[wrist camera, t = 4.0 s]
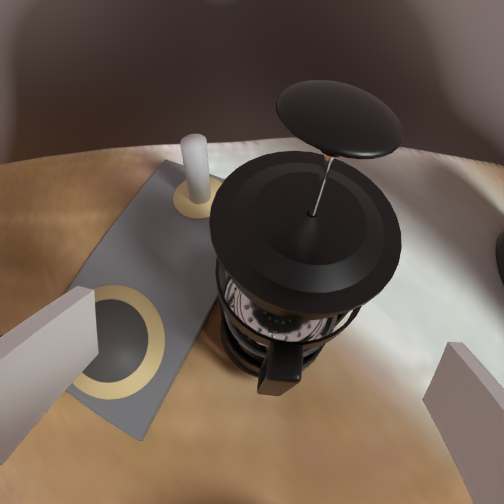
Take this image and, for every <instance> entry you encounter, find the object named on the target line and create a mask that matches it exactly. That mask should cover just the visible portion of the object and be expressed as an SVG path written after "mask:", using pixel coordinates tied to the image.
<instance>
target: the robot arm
mask: <svg viewBox="0 0 504 504" xmlns="http://www.w3.org/2000/svg"><path fill="white" fill-rule="evenodd" d="M496 256H497V263H498V268H499V271H500V275H501V278H502V280H503V283H504V230H503V231H502V232H501V234H500V235H499V237H498V240H497V245H496ZM98 354H99V351H98V340H97V329H96V314H95V295H94V290H93V289H89V288H85V287H81V286H76V287H75V288H73V289H72V290H70V291H69V292H67V293H65V294H64V295H62V296H61V297H59V298H58V299H56V300H55V301H53V302H52V303H50V304H48V305H47V306H45V307H44V308H42V309H41V310H39V311H38V312H36V313H35V314H33V315H32V316H30V317H29V318H28V319H26V320H25V321H23V322H22V323H20V324H19V325H17V326H16V327H14V328H13V329H11V330H10V331H9V332H7V333H6V334H4V335H1V336H0V465H3V464H4V462H5V461H6V460H7V459H8V457H9V456H10V455H11V454H12V452H13V451H14V450H15V449H16V448H17V446H18V445H19V444H20V443H21V442H22V440H23V439H24V438H25V437H26V436H27V434H28V433H29V432H30V431H31V430H32V429H33V427H34V426H35V425H36V424H37V423H38V421H39V420H40V419H41V418H42V417H43V416H44V414H45V413H46V412H47V411H48V410H49V409H50V408H51V406H52V405H53V404H54V403H55V402H56V401H57V399H58V398H59V397H60V396H61V395H62V394H63V393H64V392H65V390H66V389H67V388H68V387H69V386H70V385H71V384H72V383H73V381H74V380H75V379H76V378H77V377H78V376H79V375H80V374H81V372H82V371H83V370H84V369H85V368H86V367H87V366H88V365H89V364H90V363H91V361H92V360H93V359H94V358H95V357H96V356H97V355H98ZM422 400H423V402H424V404H425V405H426V407H427V409H428V411H429V413H430V415H431V417H432V419H433V421H434V422H435V424H436V426H437V428H438V430H439V432H440V434H441V436H442V438H443V440H444V442H445V444H446V446H447V448H448V450H449V452H450V454H451V456H452V458H453V460H454V462H455V464H456V466H457V468H458V470H459V473H460V475H461V477H462V479H463V481H464V483H465V485H466V488H467V490H468V492H469V494H470V496H471V499H472V501H473V503H474V504H504V389H503V387H502V386H501V385H500V384H499V383H498V382H497V380H496V379H495V378H494V377H493V376H492V375H491V373H490V372H489V371H488V370H487V369H486V368H485V367H484V366H483V364H482V363H481V362H480V361H479V360H478V359H477V358H476V357H475V356H474V355H473V353H472V352H471V351H470V350H469V349H468V348H467V347H466V346H465V345H464V344H463V343H458V342H448V343H447V345H446V348H445V350H444V353H443V355H442V358H441V360H440V362H439V365H438V367H437V369H436V372H435V374H434V376H433V378H432V380H431V383H430V385H429V387H428V389H427V391H426V393H425V395H424V397H423V399H422Z"/></svg>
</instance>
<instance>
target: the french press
mask: <svg viewBox="0 0 504 504" xmlns="http://www.w3.org/2000/svg"><path fill="white" fill-rule="evenodd" d="M276 111H277V113H278V116H279V118H280V120H281V121H282V123H283V124H284V125H285V127H286V128H287V129H288V130H289V131H290V132H291V133H293V134H294V135H295V136H296V137H298V138H299V139H301V140H302V141H304V142H305V143H307V144H309V145H311V146H313V147H315V148H317V149H320V150H321V152H322V153H324V154H325V155H321V154H317V153H312V152H303V151H285V152H276V153H271V154H267V155H263V156H260V157H258V158H255V159H253V160H250V161H248V162H246V163H245V164H243V165H242V166H240V167H238V168H237V169H236V170H234V171H233V172H232V173H231V174H230V175H229V176H228V177H227V178H226V179H225V180H224V182H223V183H222V184H221V186H220V187H219V189H218V190H217V192H216V194H215V197H214V200H213V202H212V205H211V210H210V218H209V226H210V234H211V242H212V245H213V248H214V250H215V253H216V256H217V258H216V269H215V275H216V282H217V290H218V297H219V305H220V312H221V319H222V320H221V336H222V342H223V345H224V347H225V350H226V352H227V354H228V355H229V357H230V358H231V360H232V361H233V362H234V363H235V364H236V365H237V366H238V367H239V368H240V369H242V370H243V371H245V372H246V373H248V374H250V375H253V376H255V377H257V378H258V386H257V393H258V394H263V395H272V396H280V395H282V394H283V393H285V392H286V391H288V390H289V389H291V388H292V387H294V386H295V385H296V384H298V383H299V382H300V380H301V375H302V371H303V370H305V369H306V368H308V367H309V366H310V364H311V363H312V362H313V361H314V360H315V359H316V357H317V356H318V354H319V353H320V351H321V350H322V348H323V347H324V345H325V343H327V342H329V341H330V340H332V339H333V338H334V337H336V336H337V335H339V334H340V333H341V332H342V331H343V330H344V329H345V328H346V327H347V326H348V325H349V324H350V323H351V322H352V320H353V319H354V318H355V317H356V316H357V314H358V312H359V310H360V308H361V307H362V305H364V304H366V303H367V302H368V301H370V300H371V299H372V298H374V297H375V296H376V295H378V294H379V293H380V292H381V291H382V290H383V288H384V287H385V286H386V285H387V283H388V282H389V281H390V280H391V278H392V276H393V274H394V272H395V270H396V268H397V266H398V263H399V259H400V253H401V231H400V227H399V223H398V219H397V216H396V214H395V212H394V210H393V208H392V206H391V204H390V202H389V201H388V199H387V198H386V197H385V195H384V194H383V192H382V191H381V190H380V189H379V188H378V187H377V186H376V185H375V184H374V183H373V182H372V181H371V180H370V179H369V178H368V177H366V176H365V175H364V174H362V173H361V172H360V171H358V170H357V169H355V168H353V167H351V166H350V165H348V164H346V163H344V162H342V161H340V160H337V159H334V157H340V156H342V157H346V158H354V159H375V158H380V157H384V156H386V155H388V154H391V153H393V152H394V151H395V150H396V149H397V148H398V147H399V145H400V143H401V141H402V128H401V125H400V122H399V120H398V119H397V117H396V116H395V114H394V113H393V111H392V110H391V109H390V108H388V106H386V105H385V104H384V103H383V102H382V101H380V100H379V99H378V98H376V97H375V96H373V95H371V94H370V93H368V92H366V91H364V90H361V89H359V88H357V87H354V86H351V85H348V84H344V83H340V82H335V81H328V80H312V81H304V82H299V83H296V84H294V85H291V86H289V87H288V88H286V89H285V90H284V91H283V92H282V93H281V94H280V95H279V97H278V99H277V102H276ZM225 271H226V272H227V274H228V276H229V277H230V278H231V280H230V282H229V284H228V286H227V289H226V278H225ZM351 310H353V312H352V313H351V315H350V317H349V319H348V320H347V322H346V323H345V324H344V325H343V326H342V327H340V328H339V329H337V330H336V331H335V332H333V330H334V328H335V326H336V325H337V324H338V323H339V322H340V321H341V320H342V319H343V318H344V317H345V315H346V314H347V313H348V312H349V311H351ZM332 332H333V333H332ZM238 341H239V342H240V343H241V345H242V346H243V347H245V348H246V349H248V350H249V351H251V352H252V353H254V354H256V355H258V356H261V357H263V358H264V361H263V363H261V362H258V361H256V360H254V359H253V358H251V357H250V356H248V355H247V354H246V353H245V352H244V351H243V349H242V348H241V346H240V345H239V343H238Z"/></svg>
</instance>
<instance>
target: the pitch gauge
mask: <svg viewBox="0 0 504 504" xmlns="http://www.w3.org/2000/svg"><path fill="white" fill-rule="evenodd" d="M181 150H182V157H183V163H184V165H181V164H178V163H175V162H171V161H168V160H165V161H164V162H163V163H162V164H161V166H160V167H159V168H158V169H157V170H156V171H155V173H154V174H153V175H152V176H151V177H150V179H149V180H148V181H147V182H146V183H145V185H144V186H143V187H142V188H141V190H140V191H139V192H138V193H137V194H136V196H135V197H134V198H133V199H132V201H131V202H130V203H129V205H128V206H127V207H126V208H125V210H124V211H123V212H122V214H121V215H120V216H119V217H118V219H117V220H116V221H115V223H114V224H113V225H112V227H111V228H110V229H109V231H108V232H107V233H106V235H105V236H104V238H103V239H102V240H101V242H100V243H99V244H98V246H97V247H96V249H95V250H94V251H93V253H92V254H91V256H90V257H89V259H88V260H87V261H86V263H85V264H84V266H83V267H82V269H81V270H80V272H79V273H78V275H77V276H76V278H75V279H74V281H73V282H72V284H71V285H70V287H69V288H68V290H67V291H66V293H67V292H69V291H70V290H72V289H73V288H75V287H76V286H81V287H85V288H89V289H93V290H94V295H95V314H96V329H97V340H98V351H99V354H98V355H97V356H96V357H95V358H94V359H93V360H92V361H91V363H90V364H89V365H88V366H87V367H86V368H85V369H84V370H83V371H82V372H81V374H80V375H79V376H78V377H77V378H76V379H75V380H74V381H73V383H72V384H71V385H70V386H69V387H68V388H67V389H66V390H65V391H67V392H68V393H69V394H70V395H72V396H73V397H74V398H76V399H77V400H78V401H80V402H81V403H82V404H84V405H85V406H87V407H88V408H89V409H91V410H92V411H94V412H95V413H96V414H98V415H99V416H101V417H102V418H104V419H105V420H107V421H108V422H110V423H111V424H113V425H114V426H116V427H117V428H119V429H121V430H122V431H124V432H125V433H127V434H128V435H130V436H132V437H133V438H135V439H137V440H138V441H142V440H143V438H144V436H145V434H146V432H147V431H148V429H149V427H150V425H151V423H152V421H153V419H154V417H155V415H156V413H157V412H158V410H159V408H160V406H161V404H162V402H163V400H164V398H165V396H166V395H167V393H168V391H169V389H170V387H171V385H172V383H173V381H174V379H175V378H176V376H177V374H178V372H179V370H180V368H181V366H182V364H183V363H184V361H185V359H186V357H187V355H188V353H189V351H190V349H191V348H192V346H193V344H194V342H195V340H196V338H197V336H198V334H199V333H200V331H201V329H202V327H203V325H204V323H205V321H206V319H207V318H208V316H209V314H210V312H211V310H212V308H213V306H214V305H215V303H216V301H217V299H218V290H217V282H216V275H215V269H216V258H217V256H216V253H215V250H214V248H213V245H212V242H211V234H210V226H209V218H210V210H211V205H212V202H213V200H214V197H215V194H216V192H217V190H218V189H219V187H220V186H221V184H222V183H223V182H224V180H225V179H222V178H219V177H217V176H214V175H211V174H209V166H208V154H207V142H206V138H205V137H204V136H203V135H200V134H190V135H187V136H185V137H184V138H183V139H182V140H181ZM225 278H226V282H227V280H228V279H229V276H228V274H227V272H226V271H225Z"/></svg>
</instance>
